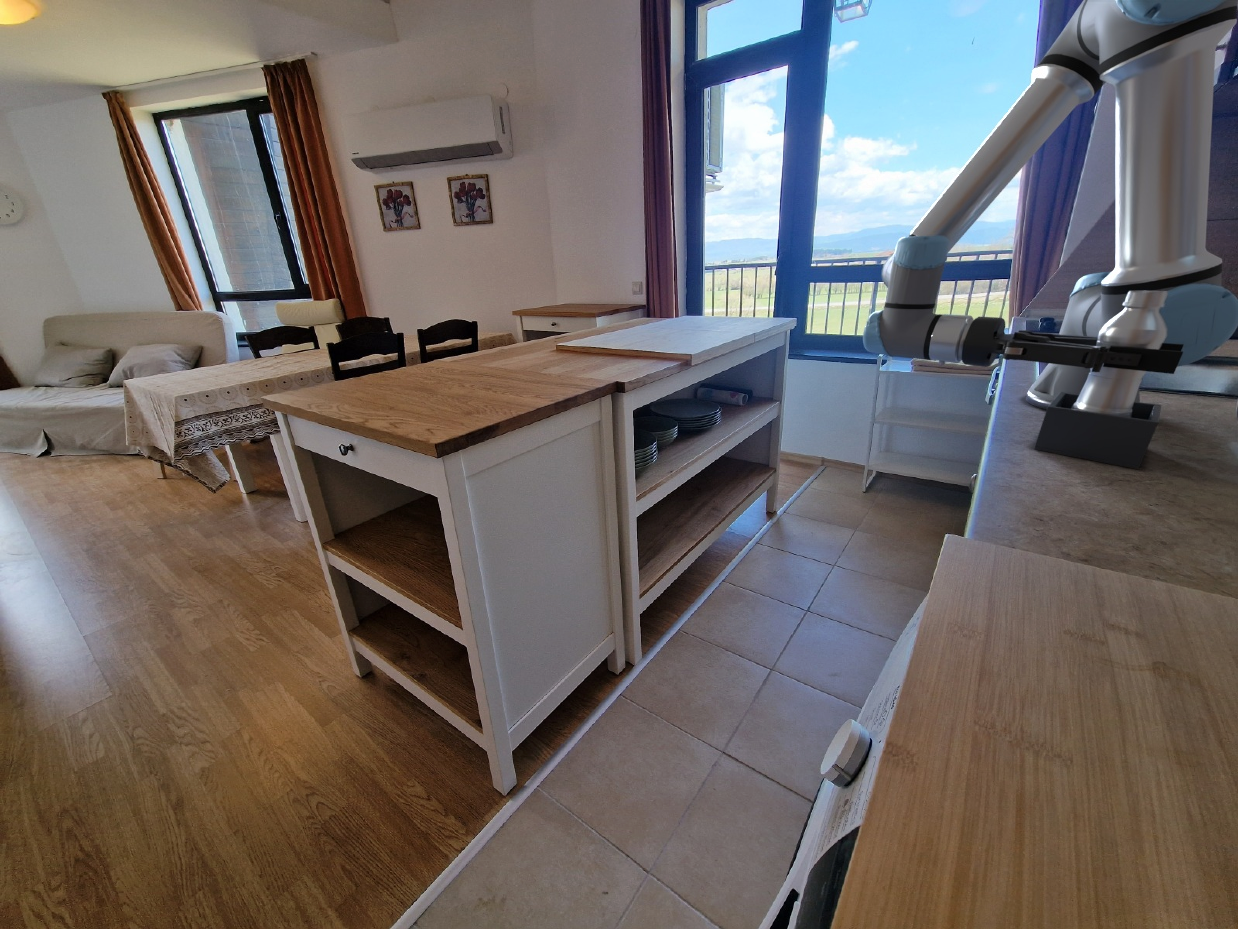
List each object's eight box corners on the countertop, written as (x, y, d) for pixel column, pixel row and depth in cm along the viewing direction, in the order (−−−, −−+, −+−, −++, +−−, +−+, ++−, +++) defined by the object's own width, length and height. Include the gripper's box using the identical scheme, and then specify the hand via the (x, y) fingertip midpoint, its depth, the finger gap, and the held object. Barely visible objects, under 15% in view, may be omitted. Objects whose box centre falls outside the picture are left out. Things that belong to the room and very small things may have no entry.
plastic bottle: (1049, 430, 73) (1098, 290, 65) (1093, 429, 73) (1148, 289, 65) (1087, 445, 67) (1147, 293, 59) (1135, 444, 67) (1202, 292, 59)
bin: (1047, 431, 78) (1060, 391, 75) (1143, 447, 70) (1161, 404, 68) (1033, 449, 71) (1047, 406, 69) (1138, 469, 64) (1158, 422, 61)
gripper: (977, 355, 85) (1168, 375, 69) (943, 373, 73) (1163, 402, 57) (989, 311, 82) (1191, 321, 66) (956, 322, 70) (1192, 337, 54)
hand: (1178, 358), depth 62 cm, fingers closed on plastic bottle, 6 cm apart
